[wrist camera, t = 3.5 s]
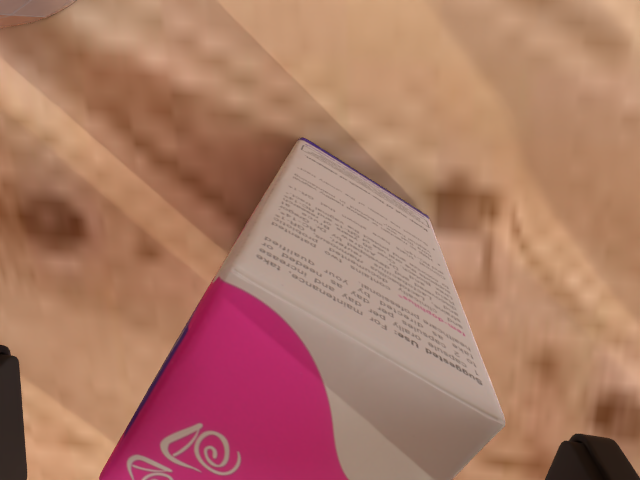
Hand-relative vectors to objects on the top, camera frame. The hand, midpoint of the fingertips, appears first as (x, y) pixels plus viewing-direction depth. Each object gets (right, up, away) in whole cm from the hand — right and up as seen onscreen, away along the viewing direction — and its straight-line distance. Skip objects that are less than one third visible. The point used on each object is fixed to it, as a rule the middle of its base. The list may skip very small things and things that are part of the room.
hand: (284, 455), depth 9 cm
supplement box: (+1, +4, +11) cm, 12 cm away
